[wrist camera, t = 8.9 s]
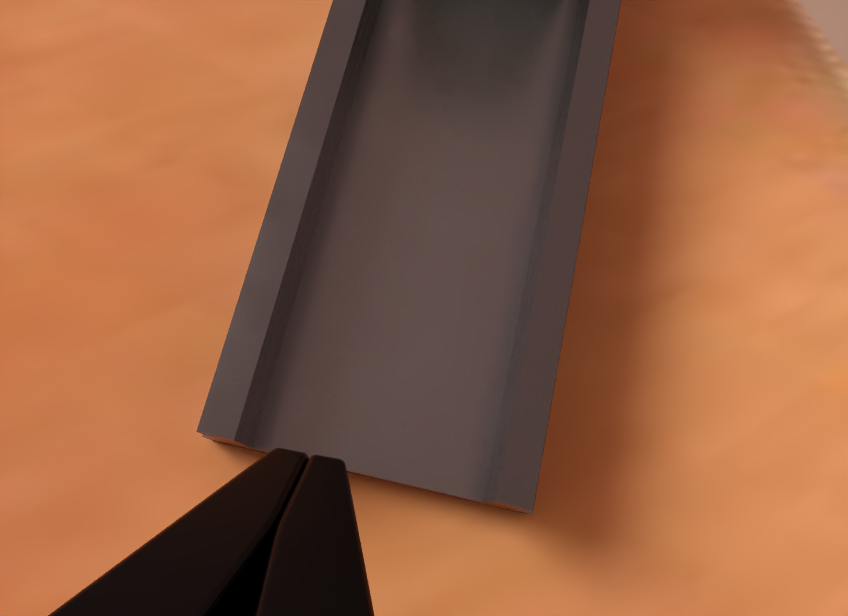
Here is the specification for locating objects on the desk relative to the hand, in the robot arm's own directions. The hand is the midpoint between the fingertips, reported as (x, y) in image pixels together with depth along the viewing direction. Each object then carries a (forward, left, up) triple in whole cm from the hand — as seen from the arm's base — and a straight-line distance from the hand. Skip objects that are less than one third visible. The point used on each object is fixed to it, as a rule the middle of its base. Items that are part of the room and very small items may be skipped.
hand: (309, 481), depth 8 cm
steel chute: (+9, -11, -14) cm, 19 cm away
